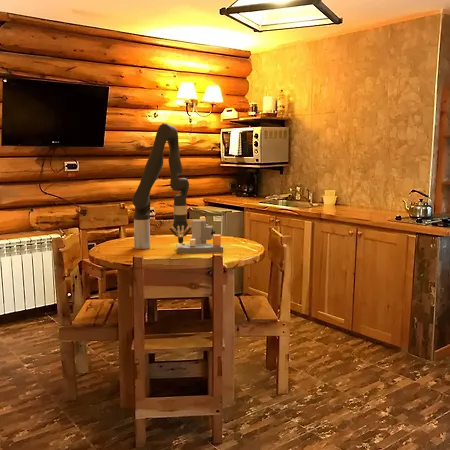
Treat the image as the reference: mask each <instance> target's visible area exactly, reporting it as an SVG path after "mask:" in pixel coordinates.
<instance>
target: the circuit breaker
mask: <svg viewBox="0 0 450 450" xmlns="http://www.w3.org/2000/svg"><path fill="white" fill-rule="evenodd" d="M189 226H190V227H191V237H190V239H195V244H207V241H210V240H213V235H215V234H216V231H215V230H214V225H207V219H192V220H190V225H189Z"/></svg>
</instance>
